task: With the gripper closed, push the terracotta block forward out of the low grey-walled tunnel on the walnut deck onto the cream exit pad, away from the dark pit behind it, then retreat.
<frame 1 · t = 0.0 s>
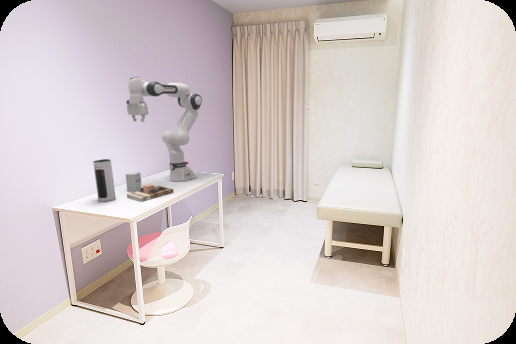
hand: (138, 121, 227), 48 cm above the table, fingers open, 8 cm apart
tunnel deck: (150, 195, 219), on the table
supplement box: (134, 190, 231), on the table
terracotta block: (149, 191, 217), point 2 cm above the table, touching tunnel deck
speaker: (107, 199, 210), on the table
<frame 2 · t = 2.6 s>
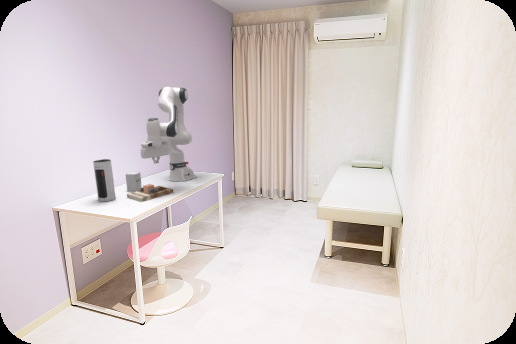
hand: (156, 163, 219), 21 cm above the table, fingers closed
nothing on the table moved.
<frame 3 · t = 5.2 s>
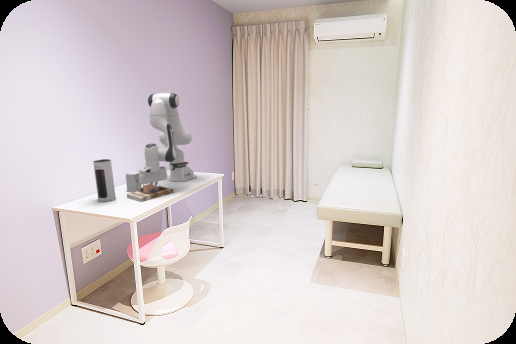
hand: (154, 188, 220), 4 cm above the table, fingers closed
terracotta block: (148, 191, 217), point 3 cm above the table, touching gripper, tunnel deck
everything else where it was.
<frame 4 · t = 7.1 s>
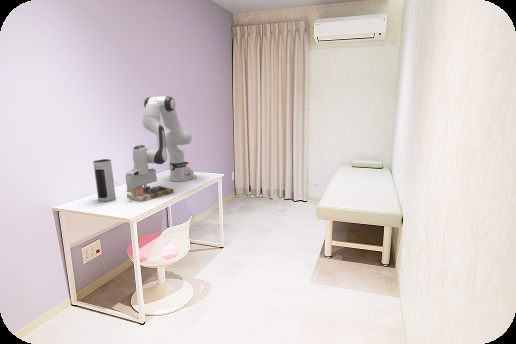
hand: (143, 191, 214), 4 cm above the table, fingers closed
terracotta block: (137, 194, 211), point 2 cm above the table, touching gripper, tunnel deck
everything else where it was.
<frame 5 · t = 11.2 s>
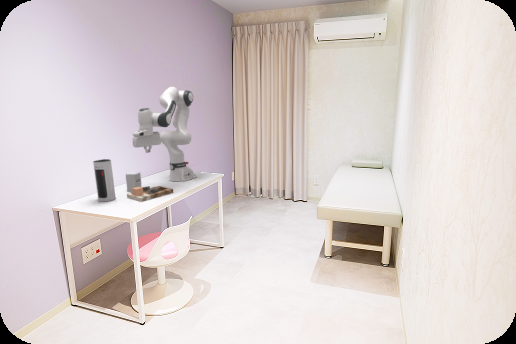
hand: (148, 152, 225), 27 cm above the table, fingers closed
terracotta block: (137, 194, 211), point 2 cm above the table, touching tunnel deck
everything else where it was.
at the end: terracotta block inside the target area (0.8 cm from its centre), point 2.5 cm above the table; terracotta block tilted 0° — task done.
